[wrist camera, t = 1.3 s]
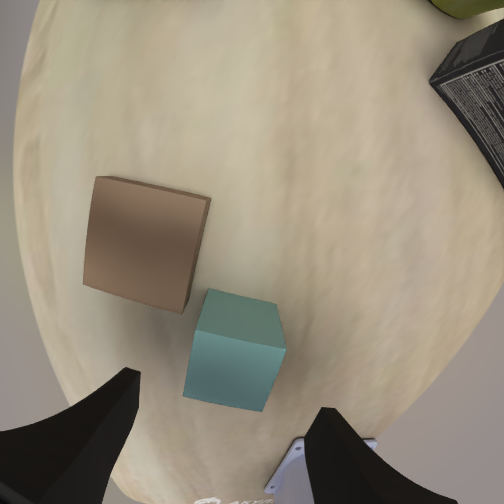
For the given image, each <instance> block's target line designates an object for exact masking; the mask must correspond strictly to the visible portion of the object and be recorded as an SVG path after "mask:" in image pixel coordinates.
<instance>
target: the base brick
mask: <svg viewBox="0 0 504 504" xmlns="http://www.w3.org/2000/svg"><path fill="white" fill-rule="evenodd" d="M210 201H211V198H209V197H204V196H200V195H196V194H192V193H187V192H183V191H179V190H174V189H170V188H165V187H161V186H156V185H152V184H147V183H142V182H137V181H133V180H128V179H123V178H118V177H113V176H97V177H96V178H95V183H94V189H93V195H92V201H91V207H90V214H89V222H88V230H87V238H86V248H85V260H84V274H83V285H86V286H89V287H92V288H95V289H98V290H101V291H104V292H107V293H110V294H114V295H117V296H120V297H123V298H126V299H130V300H133V301H136V302H140V303H143V304H146V305H150V306H153V307H157V308H160V309H164V310H168V311H171V312H175V313H179V314H183V311H184V309H185V307H186V305H187V303H188V300H189V296H190V291H191V286H192V281H193V277H194V272H195V267H196V262H197V258H198V253H199V249H200V244H201V240H202V235H203V231H204V226H205V222H206V218H207V214H208V209H209V205H210Z"/></svg>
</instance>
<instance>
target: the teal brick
mask: <svg viewBox="0 0 504 504" xmlns="http://www.w3.org/2000/svg"><path fill="white" fill-rule="evenodd" d="M286 350H287V348H286V344H285V339H284V335H283V331H282V327H281V322H280V318H279V314H278V310H277V305H276V304H274V303H269V302H265V301H261V300H256V299H252V298H248V297H243V296H239V295H235V294H231V293H227V292H222V291H218V290H214V289H210V288H209V289H208V293H207V296H206V299H205V302H204V305H203V308H202V311H201V314H200V317H199V320H198V323H197V327H196V330H195V335H194V340H193V345H192V350H191V355H190V360H189V365H188V370H187V376H186V381H185V386H184V392H183V396H184V397H188V398H192V399H196V400H201V401H205V402H210V403H215V404H219V405H224V406H230V407H235V408H241V409H246V410H253V411H259V412H262V411H263V408H264V406H265V404H266V401H267V399H268V396H269V394H270V391H271V389H272V386H273V384H274V381H275V379H276V376H277V374H278V371H279V369H280V366H281V363H282V361H283V358H284V356H285V353H286Z"/></svg>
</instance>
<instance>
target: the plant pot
mask: <svg viewBox="0 0 504 504" xmlns="http://www.w3.org/2000/svg"><path fill="white" fill-rule="evenodd" d="M431 1H432V3H433V4H434V5H435V6H437V7H438V8H439V9H441V10H442V11H444V12H445V13H447V14H449V15H451V16H453V17H456V18H460V19H464V18H468V17H471V16H474V15H478V14H481V13H484V12H487V11H491V10H495V9H499V8H503V7H504V0H431Z"/></svg>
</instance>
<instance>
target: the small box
mask: <svg viewBox="0 0 504 504" xmlns="http://www.w3.org/2000/svg"><path fill="white" fill-rule="evenodd" d="M429 82H430V84H431V86H432V87H433V88H434V89H435V90H436V91H437V92H438V94H439V95H440V96H441V97H442V98H443V99H444V101H445V102H446V103H447V104H448V106H449V107H450V108H451V109H452V110H453V112H454V113H455V114H456V115H457V117H458V118H459V119H460V121H461V122H462V123H463V125H464V126H465V127H466V129H467V130H468V132H469V133H470V134H471V136H472V137H473V139H474V140H475V141H476V143H477V144H478V146H479V147H480V149H481V150H482V152H483V154H484V155H485V157H486V158H487V160H488V161H489V163H490V165H491V166H492V168H493V170H494V171H495V173H496V175H497V176H498V178H499V180H500V182H501V183H502V185H503V187H504V19H502V20H500V21H498V22H496V23H494V24H492V25H489V26H488V27H486V28H484V29H482V30H480V31H478V32H476V33H474V34H472V35H470V36H469V37H467V38H465V39H463V40H461V41H459V42H457V43H456V45H455V46H454V47H453V49H452V50H451V51H450V53H449V54H448V55H447V57H446V58H445V59H444V61H443V62H442V64H441V65H440V66H439V68H438V69H437V70H436V72H435V73H434V74H433V76H432V77H431V78H430V80H429Z"/></svg>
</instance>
